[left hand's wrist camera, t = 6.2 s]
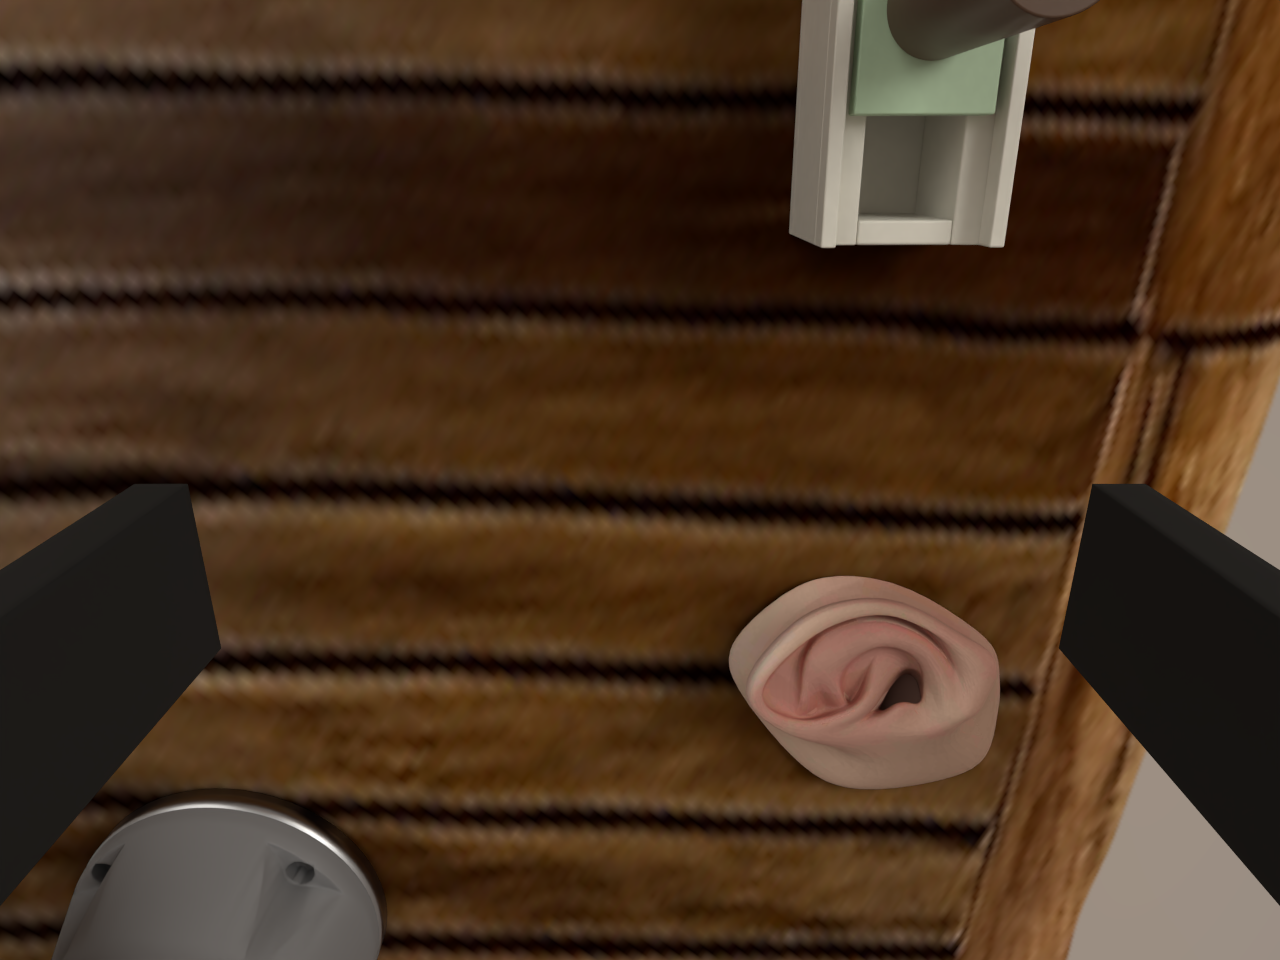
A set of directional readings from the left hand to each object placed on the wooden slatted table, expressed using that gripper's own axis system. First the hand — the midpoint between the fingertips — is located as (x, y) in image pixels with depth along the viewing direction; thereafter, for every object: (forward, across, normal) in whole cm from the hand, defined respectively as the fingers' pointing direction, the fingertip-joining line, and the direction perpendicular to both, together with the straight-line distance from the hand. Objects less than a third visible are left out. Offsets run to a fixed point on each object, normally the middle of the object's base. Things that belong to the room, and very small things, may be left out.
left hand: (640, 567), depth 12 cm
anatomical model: (+23, +11, -18) cm, 31 cm away
